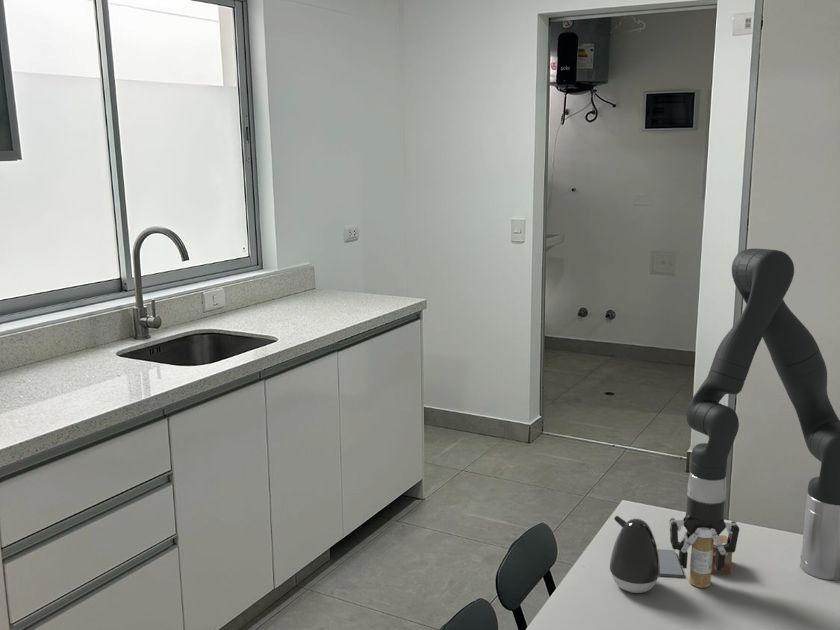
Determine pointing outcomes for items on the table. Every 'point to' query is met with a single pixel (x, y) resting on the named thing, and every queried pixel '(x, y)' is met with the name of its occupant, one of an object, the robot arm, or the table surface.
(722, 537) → the walnut letter cube
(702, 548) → the sprinkles bottle
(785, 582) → the table surface
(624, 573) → the pump dispenser
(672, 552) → the blue-grey square plate
